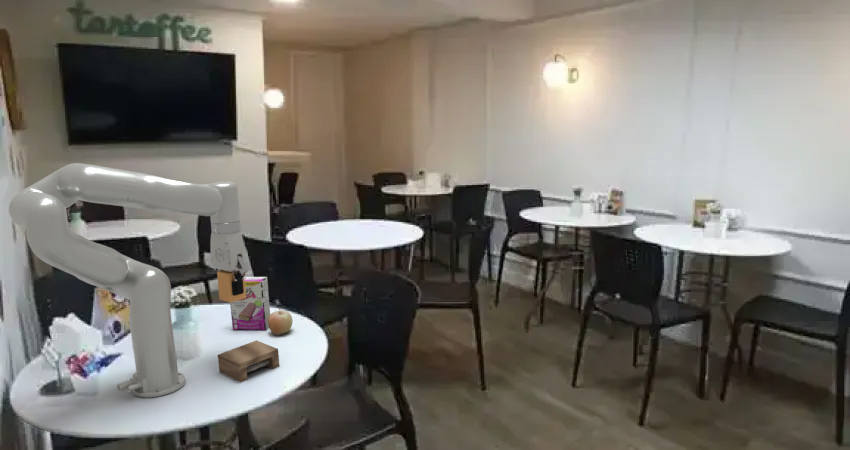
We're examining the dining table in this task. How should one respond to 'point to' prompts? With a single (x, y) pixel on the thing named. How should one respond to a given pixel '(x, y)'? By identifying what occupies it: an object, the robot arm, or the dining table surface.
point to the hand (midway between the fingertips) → (232, 291)
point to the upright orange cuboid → (228, 287)
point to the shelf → (247, 359)
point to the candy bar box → (252, 306)
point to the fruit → (280, 322)
